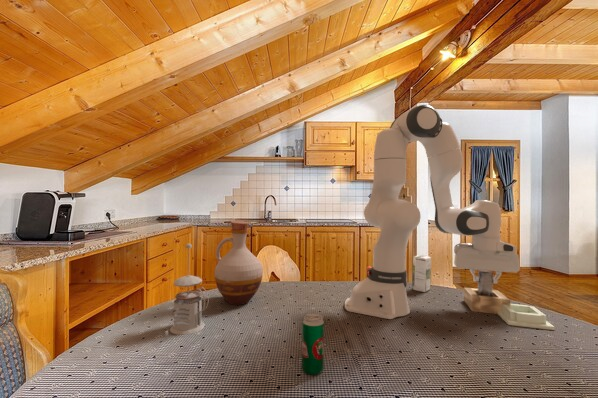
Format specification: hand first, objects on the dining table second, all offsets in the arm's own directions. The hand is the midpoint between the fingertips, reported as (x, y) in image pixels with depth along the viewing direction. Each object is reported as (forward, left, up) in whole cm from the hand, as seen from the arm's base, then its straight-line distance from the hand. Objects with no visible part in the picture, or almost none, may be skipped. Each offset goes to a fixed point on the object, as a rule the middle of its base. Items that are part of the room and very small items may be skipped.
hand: (485, 282), depth 107 cm
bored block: (0, 0, -9) cm, 9 cm away
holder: (+8, -9, -9) cm, 15 cm away
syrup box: (-20, +15, -9) cm, 27 cm away
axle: (0, 0, -8) cm, 8 cm away
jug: (-89, -22, -9) cm, 92 cm away
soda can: (-51, -57, -9) cm, 77 cm away
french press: (-91, -47, -9) cm, 103 cm away
